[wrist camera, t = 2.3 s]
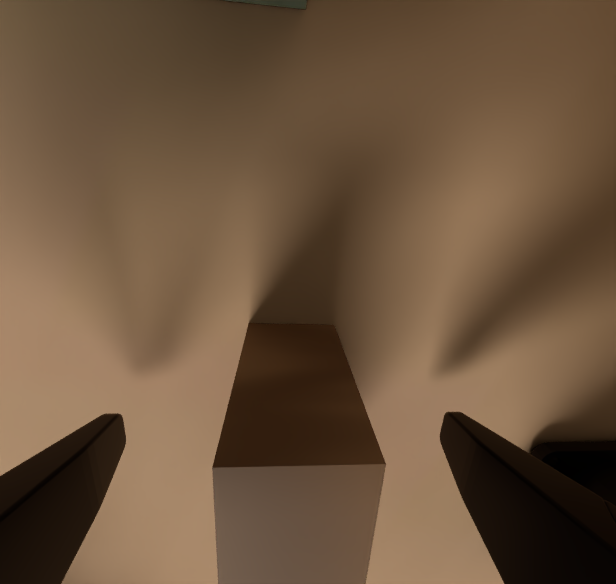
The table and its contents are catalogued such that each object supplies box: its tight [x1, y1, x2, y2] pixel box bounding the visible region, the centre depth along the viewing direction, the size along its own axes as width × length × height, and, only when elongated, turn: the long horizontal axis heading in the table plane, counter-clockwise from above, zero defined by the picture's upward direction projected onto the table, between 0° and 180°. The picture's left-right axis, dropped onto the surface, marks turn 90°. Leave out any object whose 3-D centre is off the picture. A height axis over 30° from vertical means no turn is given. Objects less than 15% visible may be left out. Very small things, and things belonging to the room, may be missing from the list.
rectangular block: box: [212, 323, 386, 584], centre depth 8 cm, size 2×5×5 cm, turn 177°
